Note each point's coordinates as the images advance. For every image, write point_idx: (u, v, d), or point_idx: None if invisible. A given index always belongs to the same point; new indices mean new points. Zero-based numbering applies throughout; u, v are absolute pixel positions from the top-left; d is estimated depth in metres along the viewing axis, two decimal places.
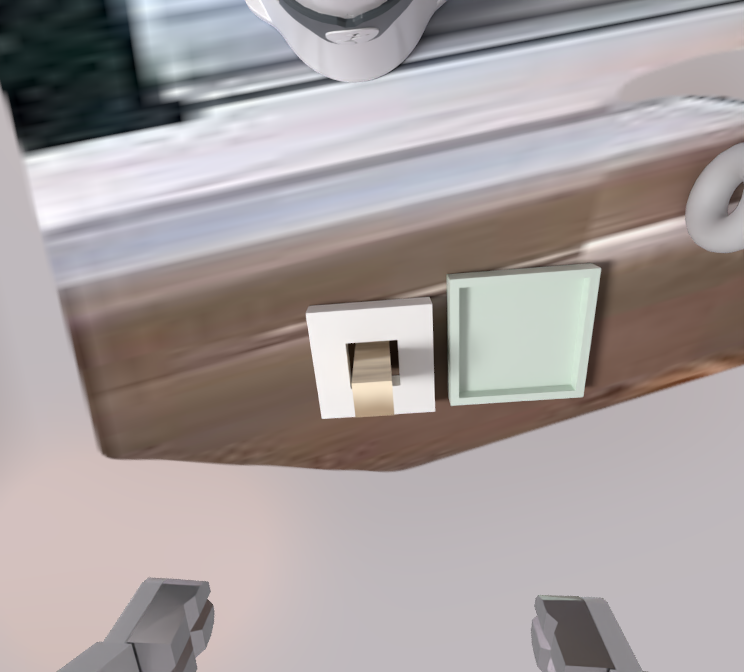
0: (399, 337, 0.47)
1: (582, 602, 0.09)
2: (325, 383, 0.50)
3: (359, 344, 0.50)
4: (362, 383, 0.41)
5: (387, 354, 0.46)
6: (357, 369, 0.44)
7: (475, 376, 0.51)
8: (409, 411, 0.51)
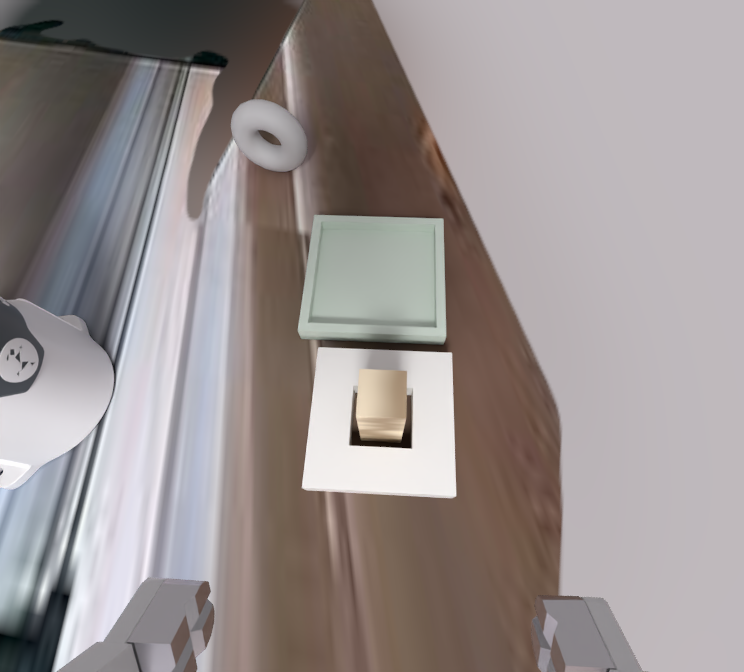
0: (351, 383, 0.42)
1: (582, 602, 0.09)
2: (401, 480, 0.38)
3: None
4: (358, 402, 0.34)
5: None
6: None
7: (416, 314, 0.47)
8: (450, 381, 0.42)
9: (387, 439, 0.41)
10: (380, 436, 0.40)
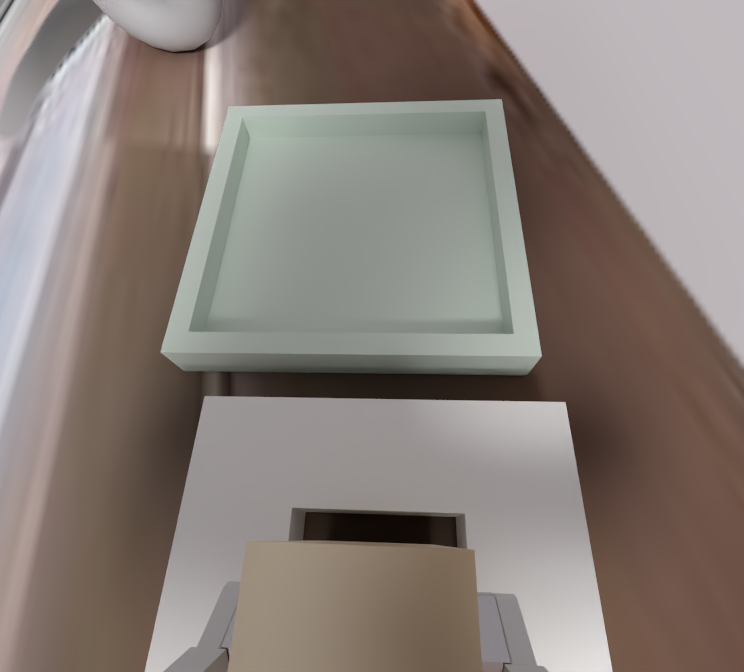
0: (286, 501, 0.15)
1: (492, 598, 0.10)
2: None
3: None
4: None
5: None
6: None
7: (457, 304, 0.20)
8: (573, 489, 0.14)
9: None
10: None
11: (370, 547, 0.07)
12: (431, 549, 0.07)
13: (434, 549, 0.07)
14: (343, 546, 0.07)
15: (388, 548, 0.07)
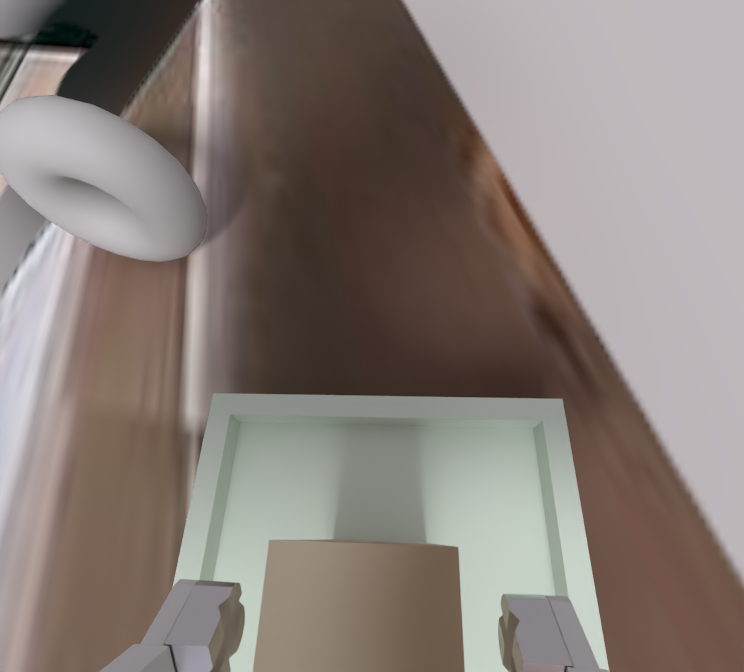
0: None
1: (545, 600, 0.09)
2: None
3: None
4: None
5: None
6: None
7: None
8: None
9: None
10: None
11: (372, 544, 0.09)
12: (422, 546, 0.09)
13: (425, 546, 0.09)
14: (350, 544, 0.09)
15: (387, 545, 0.09)
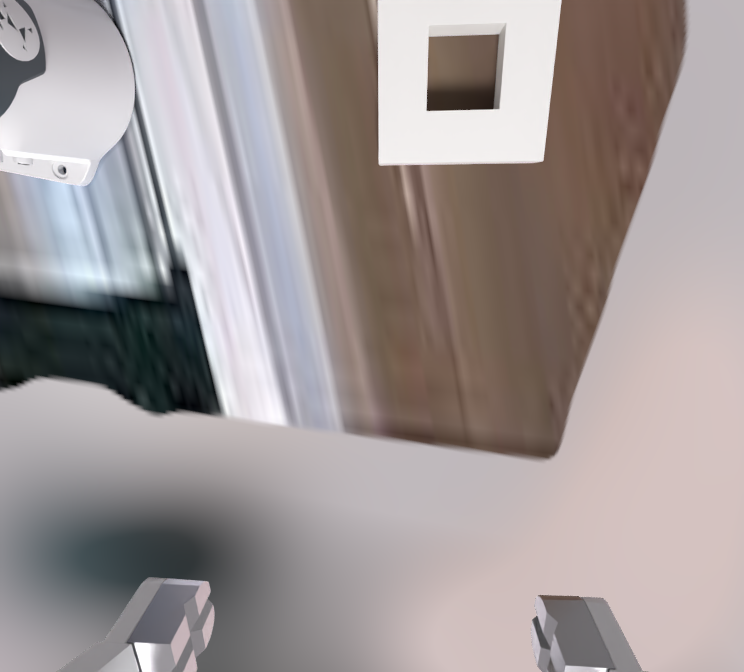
0: (426, 22, 0.33)
1: (582, 602, 0.09)
2: (485, 148, 0.35)
3: None
4: None
5: None
6: None
7: None
8: (557, 7, 0.32)
9: None
10: None
11: None
12: None
13: None
14: None
15: None
